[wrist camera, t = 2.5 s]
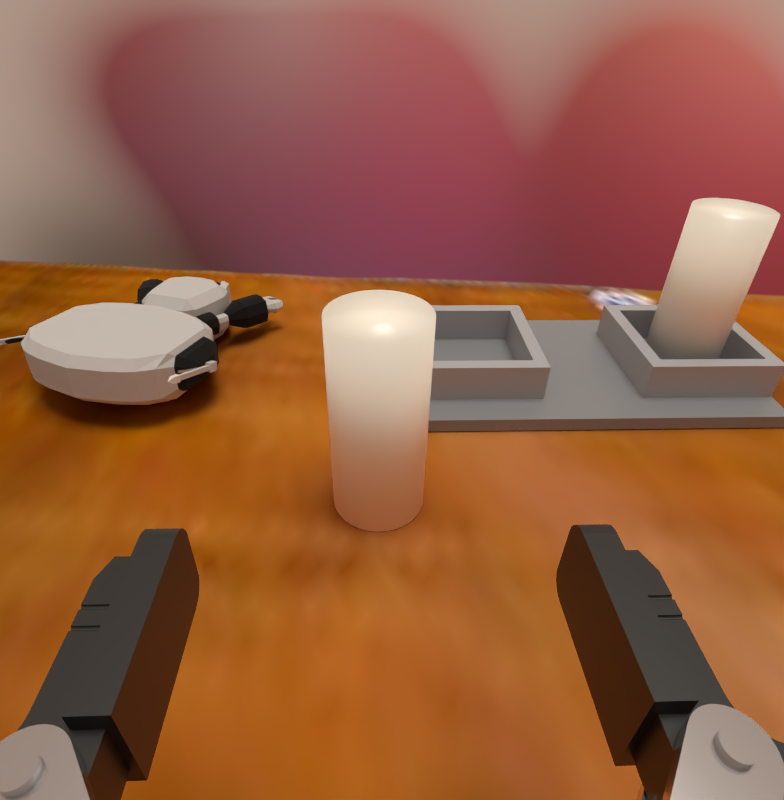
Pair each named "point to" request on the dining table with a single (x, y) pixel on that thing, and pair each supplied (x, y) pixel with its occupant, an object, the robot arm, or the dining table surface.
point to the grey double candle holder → (622, 349)
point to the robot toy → (140, 341)
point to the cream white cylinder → (378, 404)
